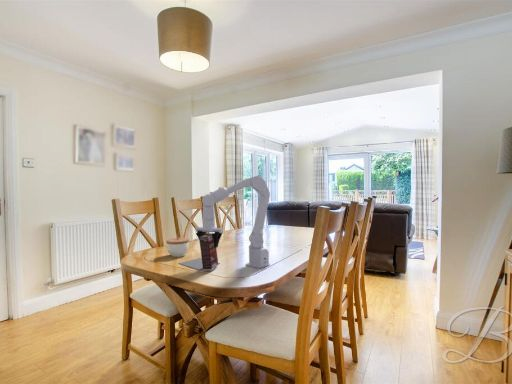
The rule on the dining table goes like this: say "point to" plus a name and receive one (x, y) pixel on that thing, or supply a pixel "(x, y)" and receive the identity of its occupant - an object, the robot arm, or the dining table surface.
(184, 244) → the lidded bowl
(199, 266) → the felt mat
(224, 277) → the dining table surface
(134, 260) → the dining table surface
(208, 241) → the supplement box
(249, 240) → the robot arm
